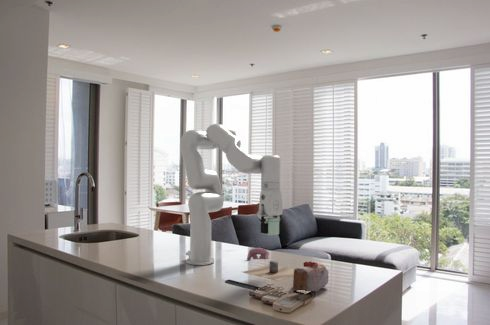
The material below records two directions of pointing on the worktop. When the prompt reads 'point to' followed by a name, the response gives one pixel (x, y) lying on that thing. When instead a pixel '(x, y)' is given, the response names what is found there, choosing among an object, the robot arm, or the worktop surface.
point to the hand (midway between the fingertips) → (270, 231)
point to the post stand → (272, 271)
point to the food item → (310, 277)
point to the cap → (273, 226)
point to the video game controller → (255, 251)
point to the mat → (241, 285)
